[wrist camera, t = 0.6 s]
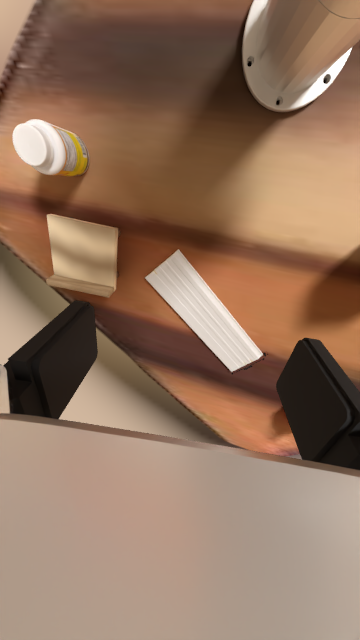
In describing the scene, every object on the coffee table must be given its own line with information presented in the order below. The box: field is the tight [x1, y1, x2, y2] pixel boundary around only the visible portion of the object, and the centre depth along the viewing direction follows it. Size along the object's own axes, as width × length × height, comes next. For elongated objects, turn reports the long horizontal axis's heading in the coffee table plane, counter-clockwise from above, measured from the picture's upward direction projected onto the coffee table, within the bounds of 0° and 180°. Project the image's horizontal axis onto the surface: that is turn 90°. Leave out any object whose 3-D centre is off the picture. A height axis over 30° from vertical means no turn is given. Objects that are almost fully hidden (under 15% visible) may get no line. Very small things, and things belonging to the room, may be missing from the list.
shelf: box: [46, 214, 121, 298], centre depth 39 cm, size 11×11×7 cm
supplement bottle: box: [13, 119, 89, 176], centre depth 30 cm, size 6×6×10 cm
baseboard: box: [145, 249, 268, 375], centre depth 46 cm, size 30×3×10 cm
